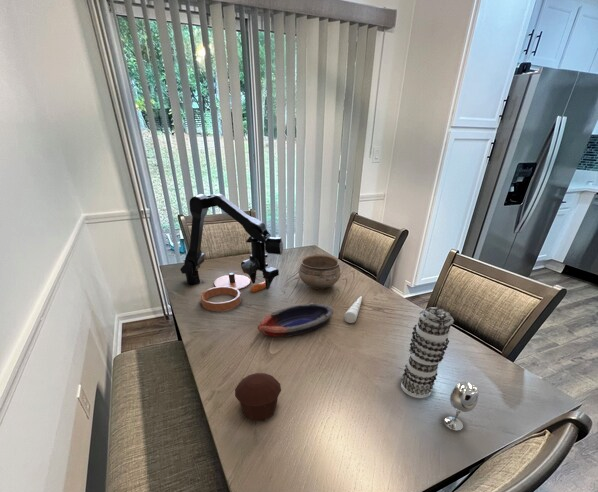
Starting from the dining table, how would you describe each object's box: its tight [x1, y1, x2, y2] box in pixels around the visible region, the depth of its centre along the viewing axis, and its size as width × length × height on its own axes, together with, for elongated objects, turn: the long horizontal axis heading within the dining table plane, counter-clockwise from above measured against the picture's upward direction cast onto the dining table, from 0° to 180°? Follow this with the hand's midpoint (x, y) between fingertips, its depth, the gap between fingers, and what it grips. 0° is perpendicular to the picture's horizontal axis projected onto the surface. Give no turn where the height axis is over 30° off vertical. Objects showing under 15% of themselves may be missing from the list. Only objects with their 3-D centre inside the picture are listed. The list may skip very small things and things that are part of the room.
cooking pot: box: [298, 253, 342, 290], centre depth 146 cm, size 25×19×12 cm
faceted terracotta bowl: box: [200, 286, 242, 312], centre depth 133 cm, size 16×16×4 cm
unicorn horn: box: [343, 295, 363, 324], centre depth 130 cm, size 5×24×5 cm, turn 156°
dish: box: [257, 303, 334, 337], centre depth 119 cm, size 16×31×5 cm, turn 118°
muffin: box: [234, 372, 282, 422], centre depth 83 cm, size 12×11×10 cm
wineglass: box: [443, 381, 479, 431], centre depth 78 cm, size 6×6×12 cm
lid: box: [213, 272, 252, 291], centre depth 149 cm, size 17×17×5 cm
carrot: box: [250, 280, 266, 293], centre depth 145 cm, size 11×3×3 cm, turn 138°
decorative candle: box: [400, 306, 455, 399], centre depth 86 cm, size 9×9×25 cm
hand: (260, 286), depth 145 cm, fingers open, 9 cm apart
